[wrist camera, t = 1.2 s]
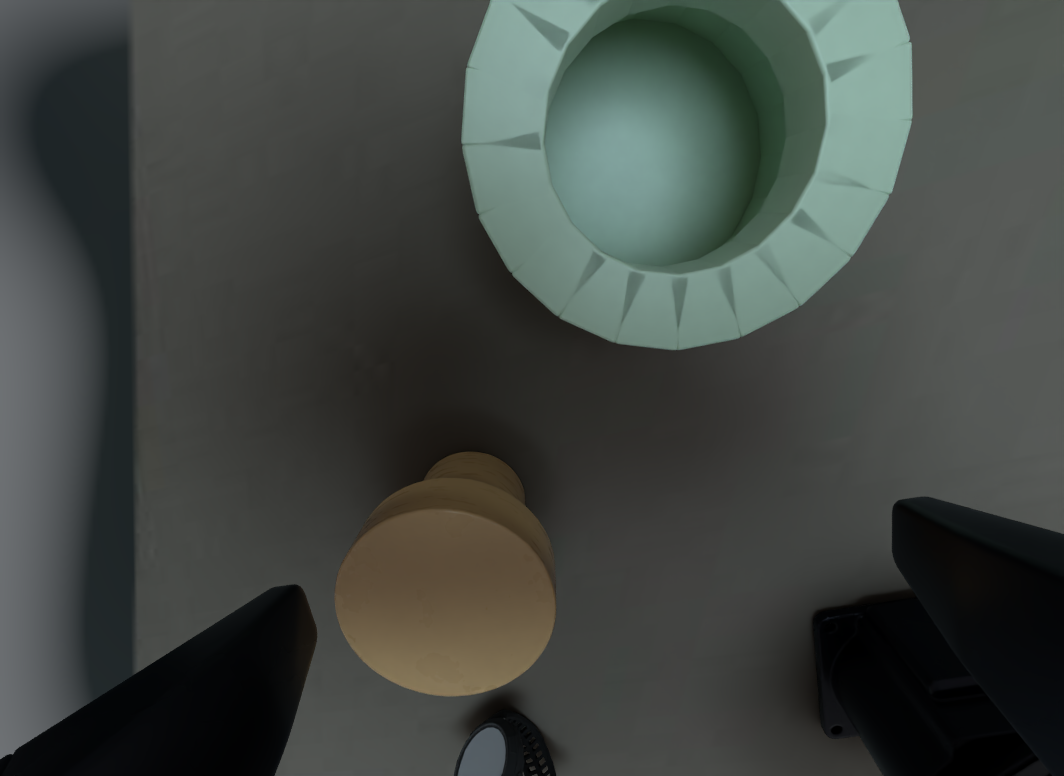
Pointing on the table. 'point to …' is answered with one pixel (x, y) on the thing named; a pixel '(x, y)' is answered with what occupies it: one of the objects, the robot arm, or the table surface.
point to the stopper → (450, 581)
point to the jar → (683, 154)
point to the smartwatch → (503, 749)
